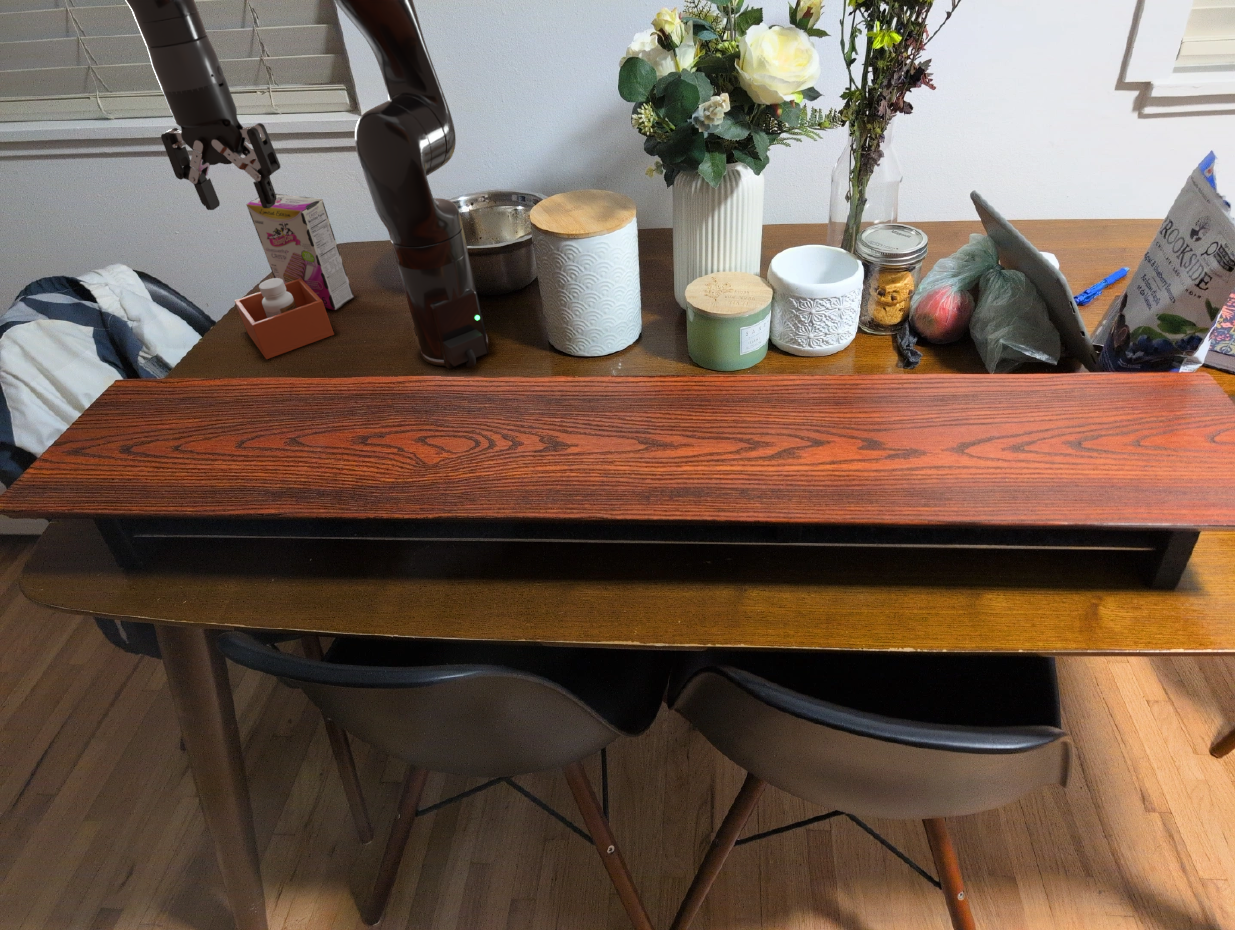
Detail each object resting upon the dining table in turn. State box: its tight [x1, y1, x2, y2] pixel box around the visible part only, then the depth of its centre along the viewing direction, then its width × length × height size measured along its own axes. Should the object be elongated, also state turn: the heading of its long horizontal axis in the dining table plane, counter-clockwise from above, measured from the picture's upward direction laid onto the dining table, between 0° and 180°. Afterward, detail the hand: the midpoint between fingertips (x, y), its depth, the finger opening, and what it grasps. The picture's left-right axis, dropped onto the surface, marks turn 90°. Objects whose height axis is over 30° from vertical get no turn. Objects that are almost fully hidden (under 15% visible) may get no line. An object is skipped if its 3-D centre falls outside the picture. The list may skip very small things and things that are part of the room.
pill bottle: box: [258, 277, 297, 318], centre depth 124 cm, size 4×4×8 cm
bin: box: [233, 278, 335, 360], centre depth 125 cm, size 10×10×6 cm
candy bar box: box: [245, 193, 354, 311], centre depth 130 cm, size 11×5×16 cm, turn 65°
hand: (241, 207), depth 115 cm, fingers open, 8 cm apart
